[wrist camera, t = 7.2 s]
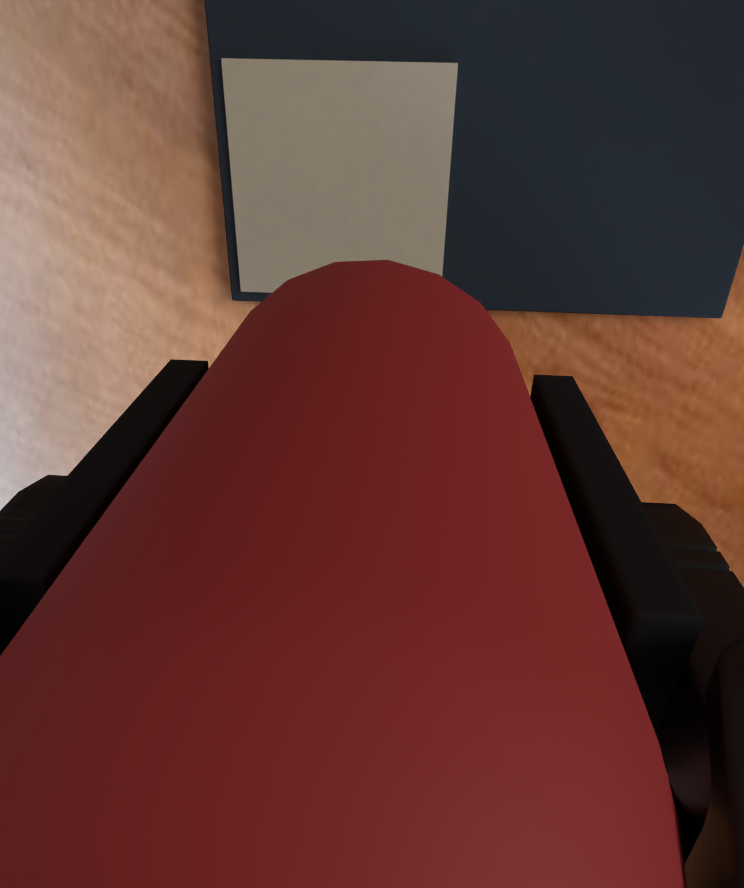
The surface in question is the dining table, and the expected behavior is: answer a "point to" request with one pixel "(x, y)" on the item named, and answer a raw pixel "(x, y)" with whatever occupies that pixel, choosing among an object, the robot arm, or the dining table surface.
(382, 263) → the beer can
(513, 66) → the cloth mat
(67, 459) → the dining table surface
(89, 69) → the dining table surface
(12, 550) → the robot arm
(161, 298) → the dining table surface
